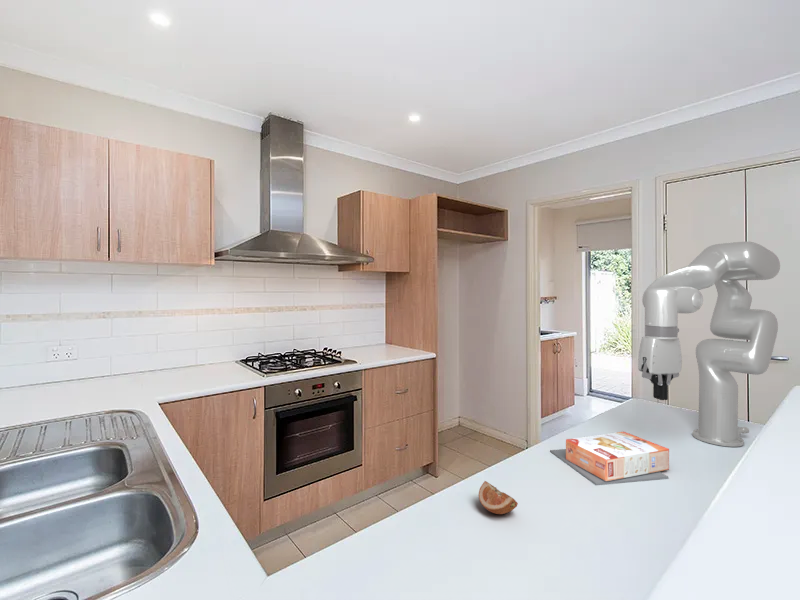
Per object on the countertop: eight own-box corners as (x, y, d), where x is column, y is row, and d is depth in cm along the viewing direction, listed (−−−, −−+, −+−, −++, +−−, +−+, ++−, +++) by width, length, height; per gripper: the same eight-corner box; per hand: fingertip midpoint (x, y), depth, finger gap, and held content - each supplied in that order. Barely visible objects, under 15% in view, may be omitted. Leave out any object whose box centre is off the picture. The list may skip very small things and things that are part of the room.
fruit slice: (524, 517, 80) (524, 493, 80) (499, 527, 77) (500, 502, 77) (495, 499, 88) (495, 477, 88) (471, 507, 84) (472, 484, 84)
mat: (611, 447, 117) (611, 445, 117) (668, 478, 97) (668, 476, 97) (550, 451, 114) (550, 450, 114) (595, 485, 94) (595, 483, 94)
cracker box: (670, 447, 100) (606, 458, 94) (670, 470, 101) (606, 483, 94) (623, 429, 114) (564, 438, 107) (623, 450, 114) (564, 460, 107)
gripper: (672, 330, 113) (672, 393, 113) (626, 331, 110) (626, 396, 111) (696, 333, 105) (696, 401, 106) (647, 334, 103) (647, 404, 103)
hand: (660, 398), depth 108 cm, fingers closed
